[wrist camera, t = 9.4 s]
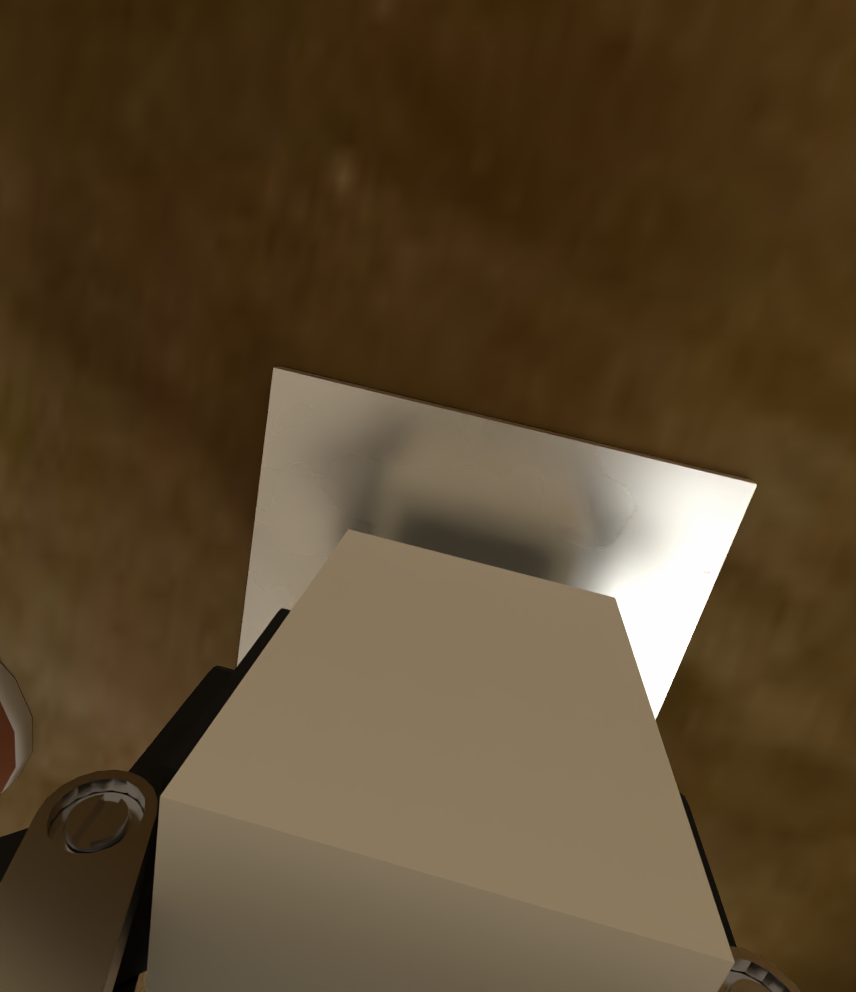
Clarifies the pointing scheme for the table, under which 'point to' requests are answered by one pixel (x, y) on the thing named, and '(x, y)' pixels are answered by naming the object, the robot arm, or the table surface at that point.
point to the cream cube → (433, 800)
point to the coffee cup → (13, 730)
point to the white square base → (487, 508)
